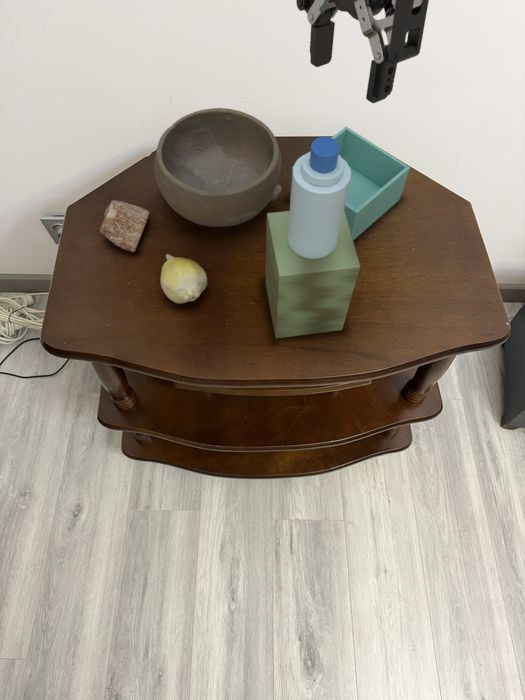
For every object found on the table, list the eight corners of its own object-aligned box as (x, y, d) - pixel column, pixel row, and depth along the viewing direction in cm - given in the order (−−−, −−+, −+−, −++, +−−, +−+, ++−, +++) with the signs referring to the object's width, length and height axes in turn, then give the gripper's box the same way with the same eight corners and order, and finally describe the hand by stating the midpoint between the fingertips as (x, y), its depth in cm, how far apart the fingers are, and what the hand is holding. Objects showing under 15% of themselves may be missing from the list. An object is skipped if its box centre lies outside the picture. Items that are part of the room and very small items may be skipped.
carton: (399, 199, 81) (410, 167, 75) (349, 244, 77) (356, 213, 71) (340, 160, 85) (346, 126, 79) (289, 200, 81) (291, 167, 75)
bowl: (302, 200, 81) (307, 148, 72) (214, 265, 75) (209, 217, 66) (226, 142, 86) (222, 87, 77) (139, 199, 81) (125, 146, 72)
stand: (328, 275, 74) (342, 204, 62) (342, 330, 70) (360, 266, 58) (265, 282, 74) (266, 213, 61) (275, 338, 69) (279, 276, 57)
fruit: (187, 251, 76) (222, 293, 71) (154, 277, 76) (188, 321, 71) (168, 227, 71) (205, 271, 66) (133, 255, 71) (168, 301, 66)
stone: (121, 261, 78) (139, 252, 74) (87, 238, 74) (104, 228, 71) (138, 222, 81) (156, 212, 77) (105, 199, 77) (123, 187, 74)
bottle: (345, 232, 60) (366, 139, 48) (322, 266, 58) (338, 177, 46) (302, 212, 61) (313, 117, 50) (278, 245, 59) (283, 153, 47)
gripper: (484, -130, 36) (427, 100, 49) (350, -167, 43) (331, 43, 56) (403, -111, 34) (366, 126, 47) (275, -153, 41) (274, 63, 54)
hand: (347, 81), depth 52 cm, fingers open, 8 cm apart
